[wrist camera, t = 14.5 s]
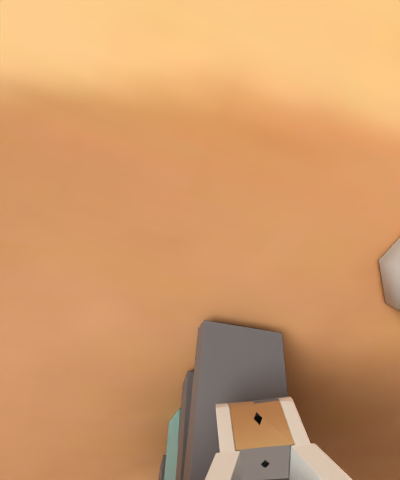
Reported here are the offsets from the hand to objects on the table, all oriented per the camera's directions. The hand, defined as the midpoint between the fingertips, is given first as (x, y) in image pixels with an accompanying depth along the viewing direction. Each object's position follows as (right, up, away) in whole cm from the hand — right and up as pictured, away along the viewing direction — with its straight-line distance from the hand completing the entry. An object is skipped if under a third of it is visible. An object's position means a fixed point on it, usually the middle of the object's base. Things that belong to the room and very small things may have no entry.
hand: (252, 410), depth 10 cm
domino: (0, +2, +4) cm, 5 cm away
